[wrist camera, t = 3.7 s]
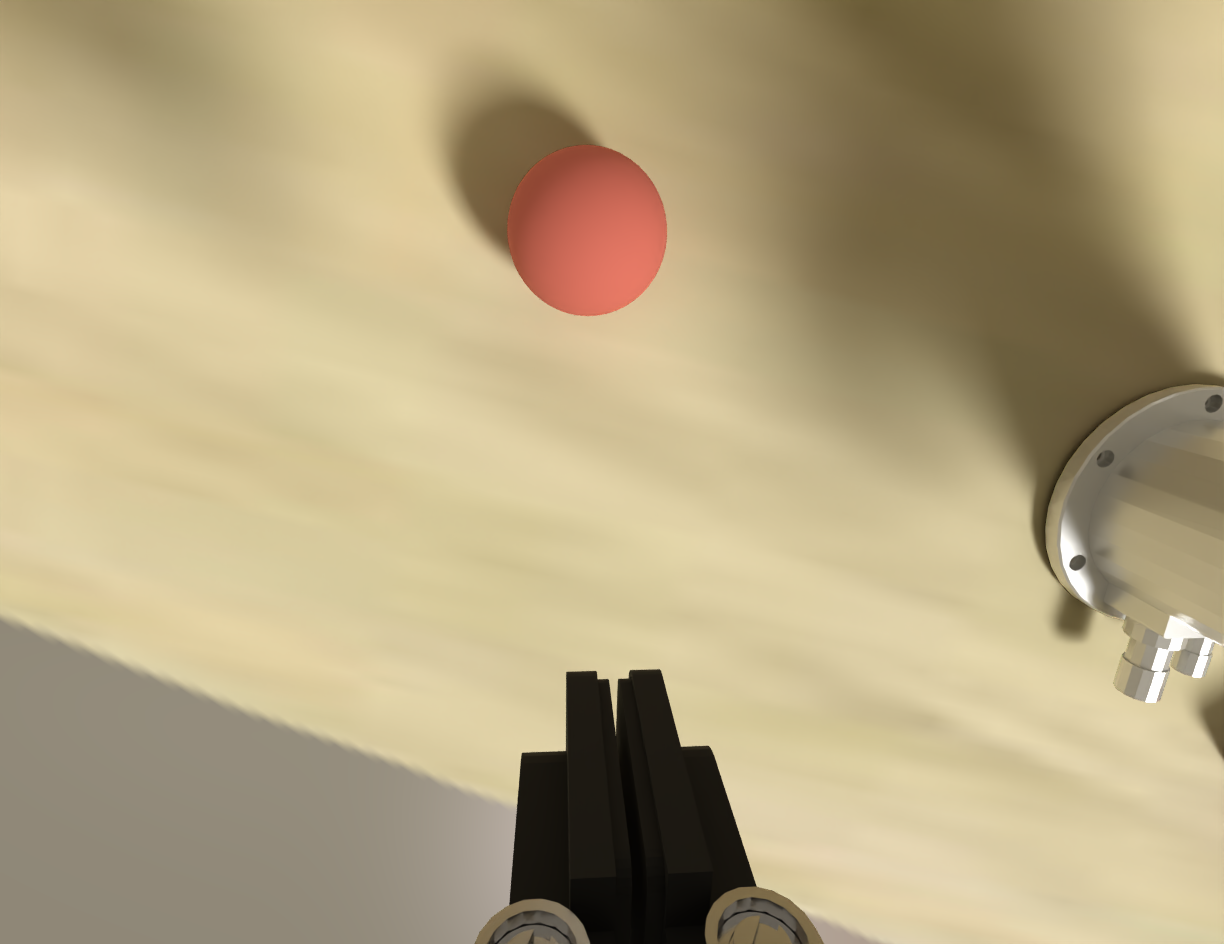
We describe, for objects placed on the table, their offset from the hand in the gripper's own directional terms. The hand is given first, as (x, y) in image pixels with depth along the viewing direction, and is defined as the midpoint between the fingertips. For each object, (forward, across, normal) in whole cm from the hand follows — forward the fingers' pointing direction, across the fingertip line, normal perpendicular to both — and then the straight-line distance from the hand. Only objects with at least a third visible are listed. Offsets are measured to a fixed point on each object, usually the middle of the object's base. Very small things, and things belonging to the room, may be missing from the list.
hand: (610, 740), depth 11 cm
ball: (+16, 0, -10) cm, 19 cm away
